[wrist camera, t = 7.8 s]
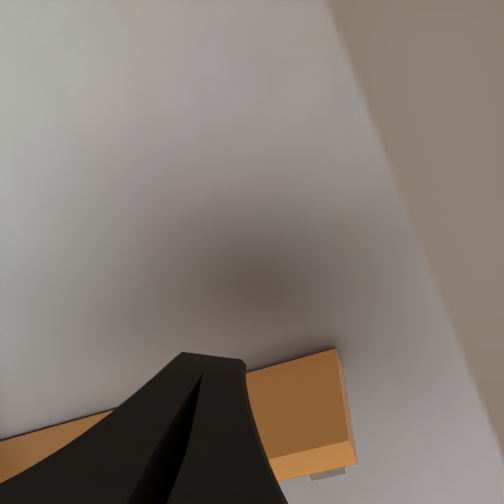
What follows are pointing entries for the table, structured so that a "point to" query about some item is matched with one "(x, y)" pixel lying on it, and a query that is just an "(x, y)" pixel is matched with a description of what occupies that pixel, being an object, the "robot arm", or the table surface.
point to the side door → (266, 418)
